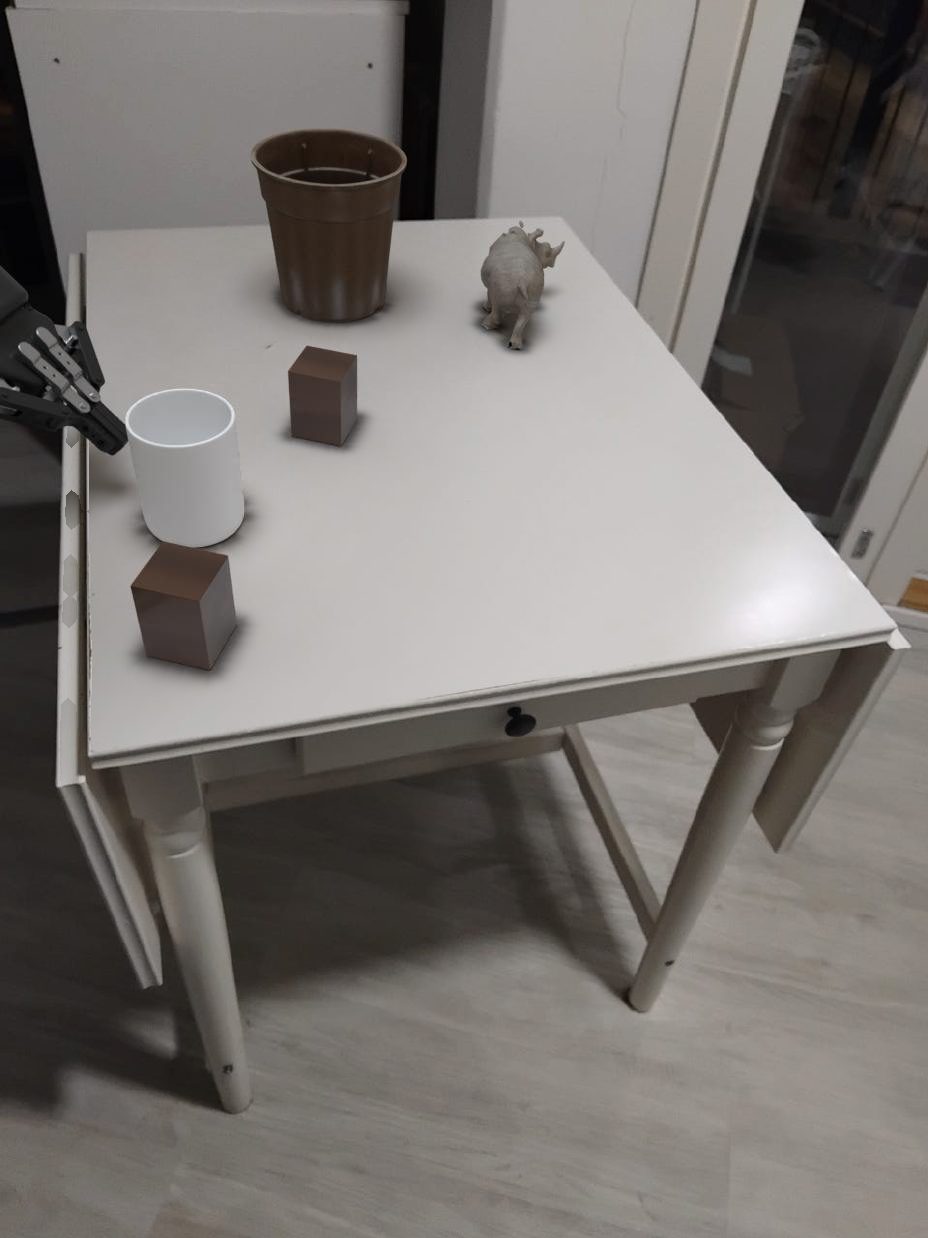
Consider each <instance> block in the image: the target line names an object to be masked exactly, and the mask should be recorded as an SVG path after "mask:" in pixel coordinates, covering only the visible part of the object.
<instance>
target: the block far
mask: <svg viewBox="0 0 928 1238" xmlns="http://www.w3.org/2000/svg"><path fill="white" fill-rule="evenodd" d="M287 378H288V382H287V383H288V399H289V414H290V416H289V417H290V433H291V437H294V438H299V439H304V440H309V441H314V442H318V443H323V444H328V445H334V446H338V447H342V446H343V444H344V442H345V440H346V438H347V437H348V436H349V434H350V432H351V430H352V428H353V426H354V425H355V423H356V421H357V420H358V355H357V354H353V353H348V352H342V351H337V350H331V349H327V348H321V347H318V346H312V345H305V347H304V348H303V350H302V351H301V352H300V353H299V355H298V356H297V358H296V359H295V360H294V362H293V364H292V365H291V366H290V367H289V369H288V370H287Z"/></svg>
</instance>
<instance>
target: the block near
mask: <svg viewBox="0 0 928 1238" xmlns="http://www.w3.org/2000/svg"><path fill="white" fill-rule="evenodd" d="M130 591H131V594H132V599H133V604H134V609H135V612H136V617H137V622H138V625H139V630H140V634H141V639H142V643H143V647H144V652H145V656H147V657H152V658H156V659H160V660H164V661H169V662H172V663H177V664H181V665H186V666H190V667H194V668H197V669H202V670H207V671H211V669H212V668H213V666H214V664H215V663H216V661H217V659H218V657H220V654H221V652H222V651H223V649H224V647H225V645H226V644H227V642H228V640H229V639H230V637H231V635H232V633H233V632H234V630H235V628H236V627H237V625H238V622H237V615H236V607H235V598H234V591H233V583H232V574H231V566H230V557H229V555H227V554H225V553H219V552H215V551H209V550H206V549H200V548H197V547H195V548H192V547H187V546H183V545H178V544H174V543H169V542H165V541H162V542H161V543H160V545H159V546H158V547H157V549H156V550H155V552H154V553H153V554H152V555H151V557H150V558H149V559H148V560H147V562H146V563H145V565H144V567H143V568H142V569H141V571H140V572H139V573H138V575H137V576H136V577H135V579H134V580H133V581H132V583H131V584H130Z"/></svg>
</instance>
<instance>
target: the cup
mask: <svg viewBox="0 0 928 1238" xmlns="http://www.w3.org/2000/svg"><path fill="white" fill-rule="evenodd" d="M124 424H125V426H126V431H127V436H128V446H129V449H130V456H131V461H132V465H133V471H134V475H135V481H136V485H137V486H136V487H137V490H138V495H139V501H140V505H141V506H140V507H141V511H142V514H143V519H144V522H145V523H146V527H147V529H148V530H149V531H150V533H151V534H152V535H153V536H154V537H156V538H157V539H158V540H160V541H162V542H163V541H165V542H169V543H174V544H178V545H183V546H187V547H192V548H203V547H208V546H212V545H215V544H218V543H221V542H223V541H224V540H226V539H228V538H229V537H231V536H232V535H233V534H235V532H236V531H238V529H239V528H240V526H241V524H242V522H243V520H244V517H245V498H244V497H245V496H244V488H243V487H244V486H243V478H242V468H241V458H240V448H239V439H238V430H237V429H238V428H237V420H236V412H235V409H234V407H233V406H232V404H231V403H230V402H229V401H228V400H227V399H225V398H224V397H223V396H221V395H219V394H216V393H215V392H211V391H207V390H204V389H197V388H170V389H165V390H160V391H157V392H154V393H150V394H147V395H145V396H144V397H142V398H141V399H140V398H139V400H137V401H136V402H135V403H134V404H133V403H132V405H131V406H130V407H129V408H128V410H127V412H126V414H125V417H124Z"/></svg>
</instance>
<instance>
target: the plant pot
mask: <svg viewBox="0 0 928 1238" xmlns="http://www.w3.org/2000/svg"><path fill="white" fill-rule="evenodd" d="M250 161H251V164H252V165H253V167H254V168H255V169H256V174H257V178H258V183H259V188H260V195H261V198H262V200H264V202H265V206H266V207H265V208H266V213H267V218H268V224H269V229H270V236H271V240H272V241H271V242H272V246H273V247H272V248H273V253H274V259H275V264H276V270H277V276H278V283H279V291H280V296H281V297H280V298H281V300H282V301H283V303H284V305H285V306H286V308H287V309H288V310H290V311H291V312H293V313H294V314H299V313H302V314H304V315H306V316H307V317H308V318H309V319H310V320H315V321H321V322H334V323H339V322H350V321H355V320H361V319H363V318H366V317H370V316H371V315H372V314H373V312H374V311H375V310H376V309H381V308H382V307H383V306H384V304H385V302H386V297H387V287H388V286H387V285H388V275H389V265H390V254H391V247H392V246H391V245H392V238H393V237H392V236H393V228H394V227H393V226H394V219H395V211H396V204H397V203H398V201H399V198H400V191H401V190H400V189H401V180H402V174H403V173H404V171H405V170H406V168H407V164H408V163H407V161H408V159H407V156H406V154H405V152H404V151H403V150H402V149H401V148H400V147H399V146H397V145H396V144H394V143H393V142H391V141H389V140H387V139H385V138H382V137H380V136H377V135H373V134H370V133H367V132H361V131H356V130H351V129H341V128H304V129H295V130H289V131H283V132H280V133H277V134H272V135H270V136H267V137H266V138H263V139H262V140H260V141H258V142H257V143H255V145H254V146H253V147H252V149H251V150H250Z"/></svg>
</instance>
